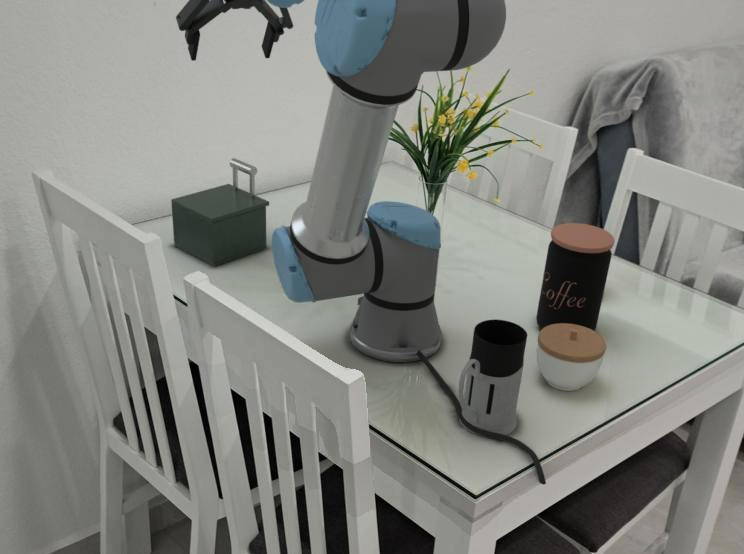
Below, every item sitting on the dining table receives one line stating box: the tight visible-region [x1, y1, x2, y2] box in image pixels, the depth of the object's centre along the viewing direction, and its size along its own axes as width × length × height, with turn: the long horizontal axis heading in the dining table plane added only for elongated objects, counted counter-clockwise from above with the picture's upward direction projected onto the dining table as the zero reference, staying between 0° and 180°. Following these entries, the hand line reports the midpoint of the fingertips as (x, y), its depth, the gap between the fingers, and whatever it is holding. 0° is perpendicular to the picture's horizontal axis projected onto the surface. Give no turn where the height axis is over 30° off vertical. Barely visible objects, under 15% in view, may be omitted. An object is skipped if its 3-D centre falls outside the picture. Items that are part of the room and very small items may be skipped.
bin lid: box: [170, 157, 270, 223], centre depth 173 cm, size 14×12×7 cm
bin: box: [171, 203, 267, 267], centre depth 177 cm, size 13×12×9 cm
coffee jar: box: [535, 222, 615, 332], centre depth 157 cm, size 11×11×18 cm
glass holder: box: [457, 319, 528, 437], centre depth 130 cm, size 9×14×15 cm, turn 146°
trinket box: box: [536, 323, 607, 392], centre depth 145 cm, size 11×11×9 cm
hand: (229, 53), depth 164 cm, fingers open, 13 cm apart
